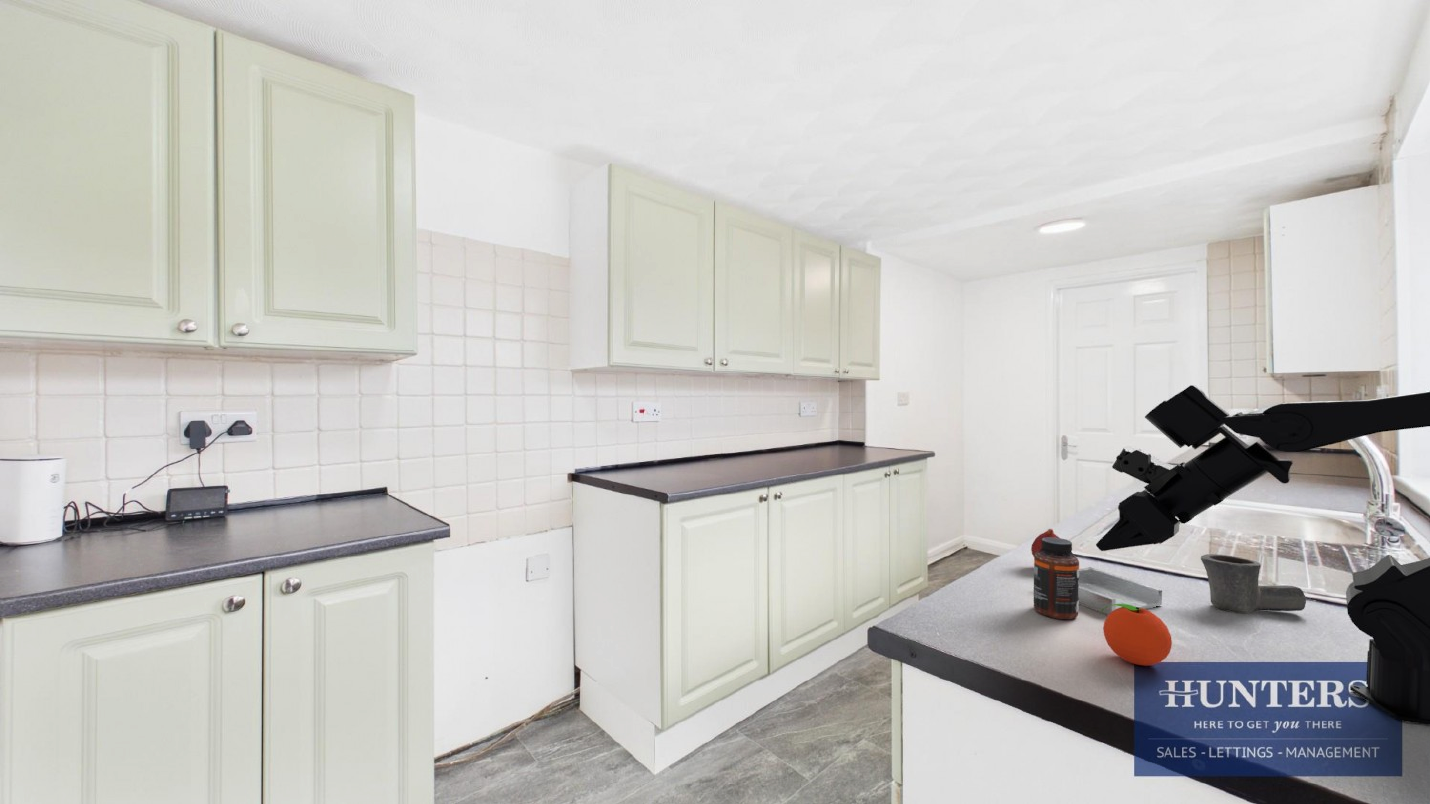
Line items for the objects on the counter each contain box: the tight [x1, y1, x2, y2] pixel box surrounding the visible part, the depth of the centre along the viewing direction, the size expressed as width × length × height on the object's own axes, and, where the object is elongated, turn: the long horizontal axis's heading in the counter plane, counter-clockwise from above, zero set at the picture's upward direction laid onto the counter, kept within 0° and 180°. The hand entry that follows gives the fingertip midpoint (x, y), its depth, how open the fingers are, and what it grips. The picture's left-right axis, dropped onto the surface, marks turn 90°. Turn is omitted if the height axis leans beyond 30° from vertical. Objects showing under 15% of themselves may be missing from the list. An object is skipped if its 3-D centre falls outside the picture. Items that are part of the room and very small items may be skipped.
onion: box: [1030, 528, 1060, 557], centre depth 105 cm, size 6×6×8 cm
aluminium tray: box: [1079, 567, 1163, 616], centre depth 91 cm, size 12×12×3 cm
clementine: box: [1099, 604, 1173, 667], centre depth 71 cm, size 8×7×7 cm
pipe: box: [1200, 553, 1307, 614], centre depth 87 cm, size 6×13×8 cm, turn 78°
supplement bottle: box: [1033, 537, 1080, 620], centre depth 85 cm, size 6×6×11 cm
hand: (1107, 541), depth 80 cm, fingers open, 9 cm apart
